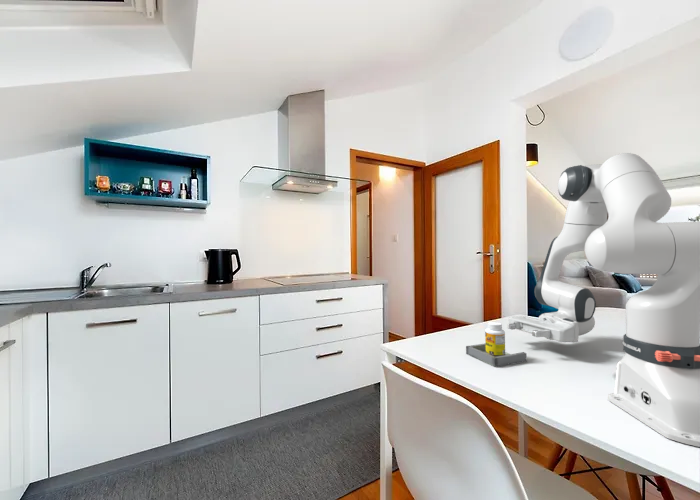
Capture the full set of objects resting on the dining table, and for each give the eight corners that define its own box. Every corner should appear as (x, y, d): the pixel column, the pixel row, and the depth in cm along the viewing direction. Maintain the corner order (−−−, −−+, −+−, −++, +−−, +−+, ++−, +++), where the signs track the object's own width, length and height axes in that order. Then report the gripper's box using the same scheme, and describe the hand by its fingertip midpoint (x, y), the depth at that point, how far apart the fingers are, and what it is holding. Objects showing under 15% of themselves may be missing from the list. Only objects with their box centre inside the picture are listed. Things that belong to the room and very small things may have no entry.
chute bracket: (495, 349, 104) (495, 341, 104) (526, 361, 92) (526, 353, 92) (466, 353, 100) (466, 346, 100) (494, 367, 88) (494, 358, 88)
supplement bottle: (482, 353, 99) (481, 321, 99) (499, 353, 99) (499, 321, 99) (490, 359, 93) (489, 325, 93) (508, 359, 93) (508, 325, 93)
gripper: (525, 310, 114) (496, 314, 109) (583, 323, 95) (550, 327, 90) (525, 327, 114) (496, 331, 109) (583, 343, 95) (550, 349, 90)
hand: (521, 330), depth 100 cm, fingers open, 8 cm apart
